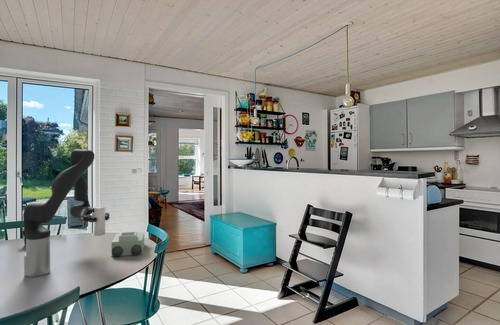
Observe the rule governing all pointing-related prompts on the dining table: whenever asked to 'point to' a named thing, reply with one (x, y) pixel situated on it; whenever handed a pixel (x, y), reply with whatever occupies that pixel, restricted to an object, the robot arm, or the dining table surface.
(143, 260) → the dining table surface
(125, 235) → the pale green toy car
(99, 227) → the spout tube
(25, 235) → the coffee mug
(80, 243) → the dining table surface
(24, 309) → the dining table surface
